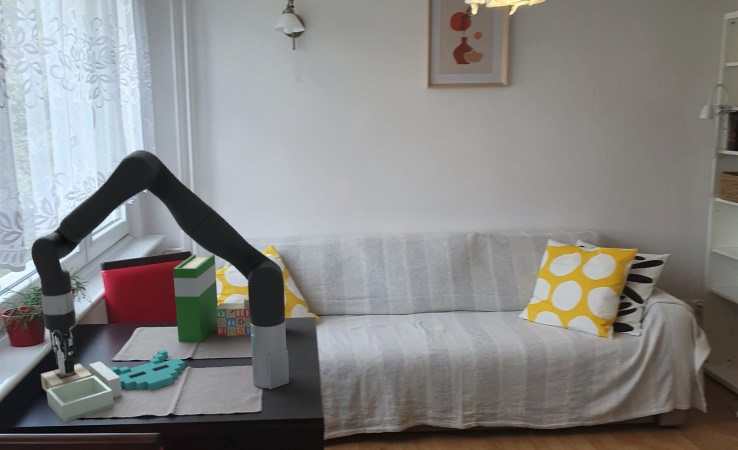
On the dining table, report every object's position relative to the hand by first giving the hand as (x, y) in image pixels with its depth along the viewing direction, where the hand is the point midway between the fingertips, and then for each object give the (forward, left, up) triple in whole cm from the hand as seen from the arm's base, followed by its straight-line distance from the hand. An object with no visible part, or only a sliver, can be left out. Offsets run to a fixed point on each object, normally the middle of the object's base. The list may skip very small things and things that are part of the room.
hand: (65, 368), depth 173 cm
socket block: (0, 0, -6) cm, 6 cm away
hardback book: (+14, -46, -6) cm, 48 cm away
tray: (-13, +1, -6) cm, 14 cm away
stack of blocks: (+2, -59, -6) cm, 59 cm away
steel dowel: (0, 0, -6) cm, 6 cm away
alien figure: (-6, -19, -6) cm, 21 cm away
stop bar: (-7, -8, -6) cm, 12 cm away
